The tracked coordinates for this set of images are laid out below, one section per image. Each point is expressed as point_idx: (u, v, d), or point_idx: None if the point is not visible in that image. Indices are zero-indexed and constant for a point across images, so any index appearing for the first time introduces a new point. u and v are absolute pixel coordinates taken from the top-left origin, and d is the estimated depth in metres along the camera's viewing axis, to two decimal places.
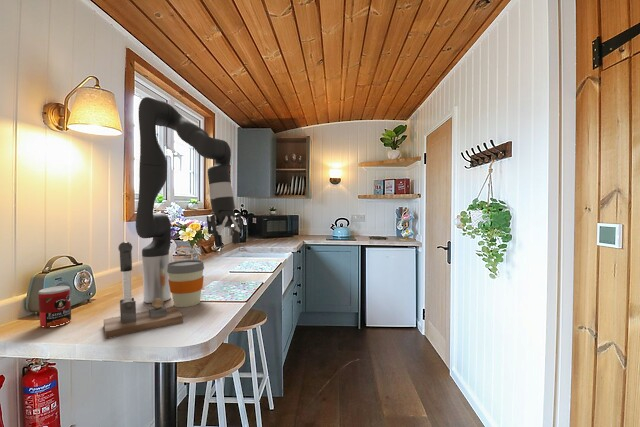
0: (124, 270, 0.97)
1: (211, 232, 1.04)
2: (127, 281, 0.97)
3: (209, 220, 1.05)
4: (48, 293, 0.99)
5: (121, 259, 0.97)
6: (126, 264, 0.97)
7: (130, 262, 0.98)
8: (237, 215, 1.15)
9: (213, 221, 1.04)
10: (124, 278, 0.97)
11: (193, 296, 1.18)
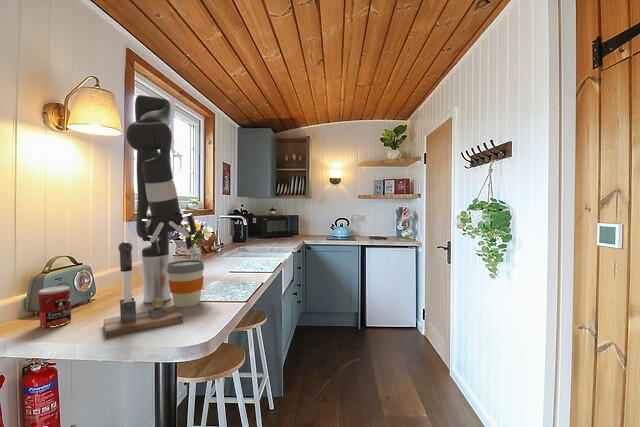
0: (124, 270, 0.97)
1: None
2: (127, 281, 0.97)
3: None
4: (48, 293, 0.99)
5: (121, 259, 0.97)
6: (126, 264, 0.97)
7: (130, 262, 0.98)
8: (187, 217, 0.94)
9: (142, 228, 0.92)
10: (124, 278, 0.97)
11: (193, 296, 1.18)
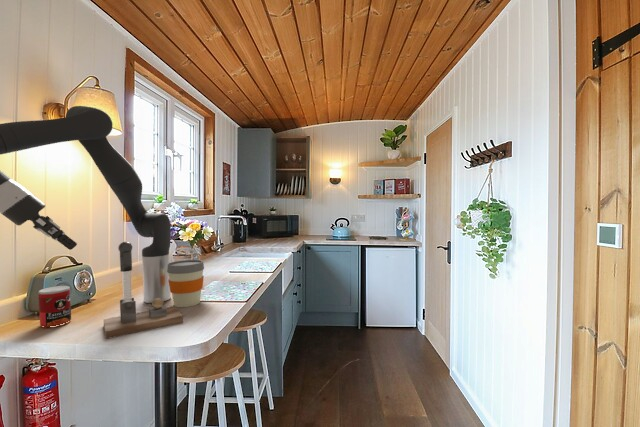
0: (124, 270, 0.97)
1: None
2: (127, 281, 0.97)
3: None
4: (48, 293, 0.99)
5: (121, 259, 0.97)
6: (126, 264, 0.97)
7: (130, 262, 0.98)
8: None
9: None
10: (124, 278, 0.97)
11: (193, 296, 1.18)
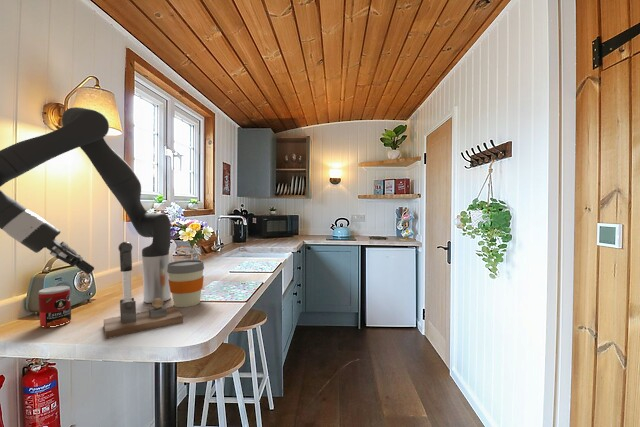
0: (124, 270, 0.97)
1: None
2: (127, 281, 0.97)
3: None
4: (48, 293, 0.99)
5: (121, 259, 0.97)
6: (126, 264, 0.97)
7: (130, 262, 0.98)
8: None
9: None
10: (124, 278, 0.97)
11: (193, 296, 1.18)
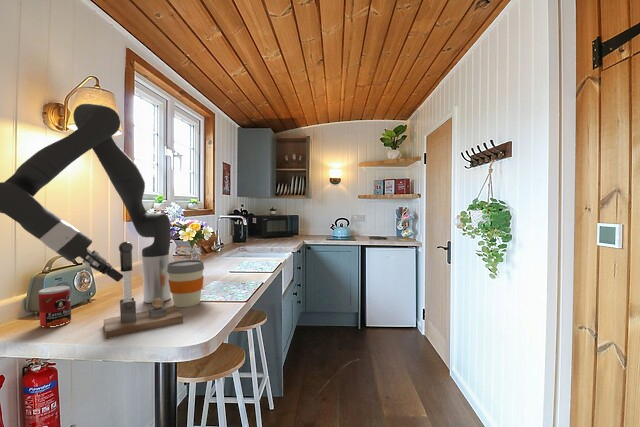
0: (124, 270, 0.97)
1: None
2: (127, 281, 0.97)
3: None
4: (48, 293, 0.99)
5: (121, 259, 0.97)
6: (126, 264, 0.97)
7: (130, 262, 0.98)
8: None
9: None
10: (124, 278, 0.97)
11: (193, 296, 1.18)
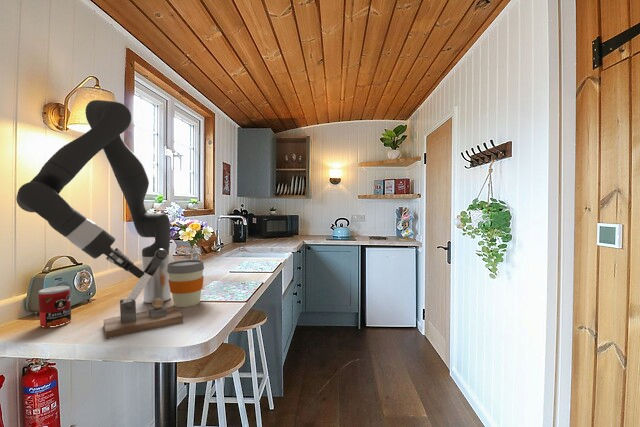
0: (147, 272, 1.00)
1: None
2: (143, 283, 1.00)
3: None
4: (48, 293, 0.99)
5: (151, 262, 1.01)
6: (152, 268, 1.01)
7: (156, 268, 1.02)
8: None
9: None
10: (142, 279, 1.00)
11: (193, 296, 1.18)
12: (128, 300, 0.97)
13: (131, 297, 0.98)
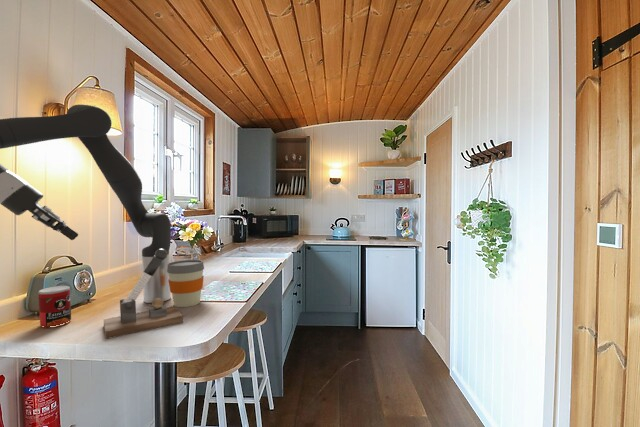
0: (147, 272, 1.00)
1: None
2: (143, 283, 1.00)
3: None
4: (48, 293, 0.99)
5: (151, 262, 1.01)
6: (152, 268, 1.01)
7: (156, 268, 1.02)
8: None
9: None
10: (142, 279, 1.00)
11: (193, 296, 1.18)
12: (128, 300, 0.97)
13: (131, 297, 0.98)
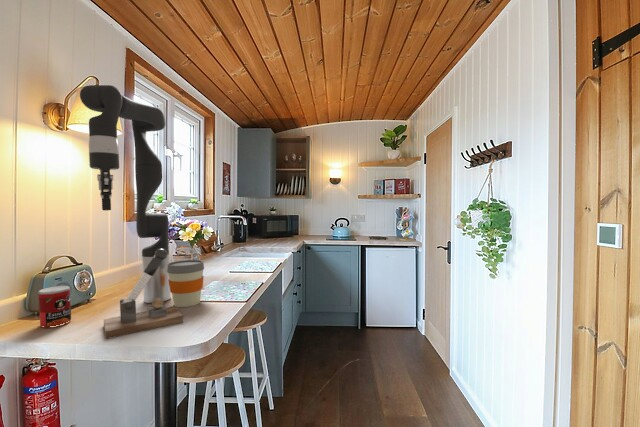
0: (147, 272, 1.00)
1: None
2: (143, 283, 1.00)
3: None
4: (48, 293, 0.99)
5: (151, 262, 1.01)
6: (152, 268, 1.01)
7: (156, 268, 1.02)
8: None
9: None
10: (142, 279, 1.00)
11: (193, 296, 1.18)
12: (128, 300, 0.97)
13: (131, 297, 0.98)
